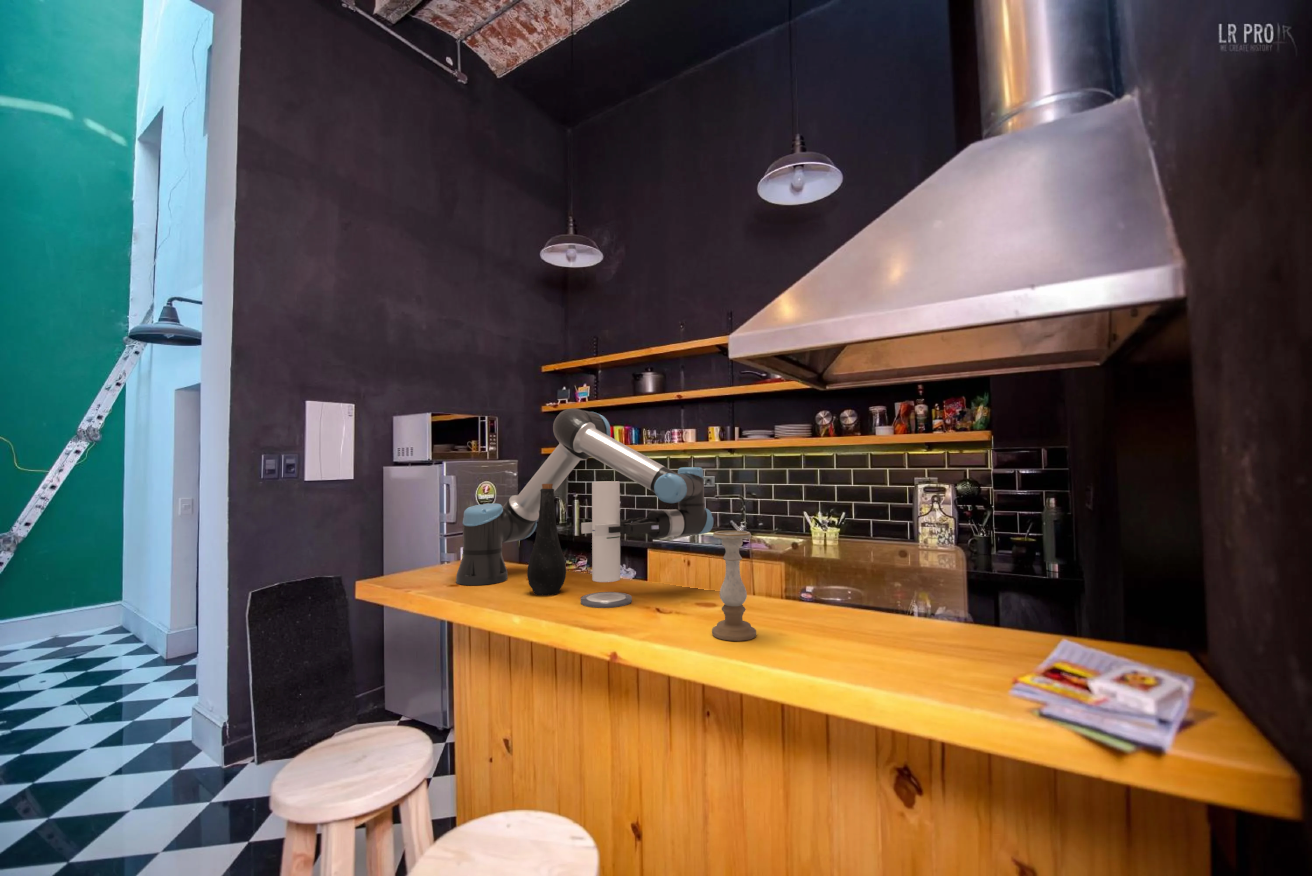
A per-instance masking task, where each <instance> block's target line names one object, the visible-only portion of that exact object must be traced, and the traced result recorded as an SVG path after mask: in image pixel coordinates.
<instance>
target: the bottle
mask: <svg viewBox="0 0 1312 876" xmlns="http://www.w3.org/2000/svg"><path fill="white" fill-rule="evenodd" d="M552 486H553V484H542V489H541V490H540V492H541V498H540V510H539V518H538V519H537V527H536V535H535V540H534V543H533V548H532V551H531V553H530V556H529V560H528V564H527V571H526V577H527V581H528V585H529V587H530V588H531V590H532V591H533V595H535V596H542V597H543V596H553V595H558V594H560V592H561V589H562V588H563V585H564V584H565V581H566V577H567V566H566V565H567V564H566V560H565V559H566V558H565V556H564V553H563V550H562V548H561V542H560V539H559V534H558V533H559V532H558V529H557V528H558V526H557V518H556V510H555V507H556V506H555V492H554V489H552Z"/></svg>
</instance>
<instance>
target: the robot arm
mask: <svg viewBox="0 0 1312 876" xmlns="http://www.w3.org/2000/svg"><path fill="white" fill-rule="evenodd" d="M552 425H553V426H552V431H553V435H554V437H555V439H556V440H557V442H558V443H559V444H558V445H557V446H556V447H555V449H554V450H553V451H552V452H551V453H550V455H549V456H548V457H547V459H545V461H544V462H543V464H542V465H541V466H540V467H539V469H538V470H537V471H536V472H535V473H534V475H533V476H532V477H531V479H530V480H529V481H528V482H527V483H526V485H525V486H524V487H523V489H522V490H521V491H520V492H519V494H515V495H514V494H513V495H511V496H510V497H509V498H508V500H507V501H506V502H505V504H504V505H502V504H500V503H484V504H476V505H472V506H469V507H467V508H465V509H464V511H463V518H462V557H461V561H460V564H459V566H458V570H457V571H456V572H457V573H456V576H455V582H456V584H458V585H462V586H463V585H464V586H483V585H492V584H499V583H502V582H505V581H507V580H508V569H507V566H506V563H505V560H504V557H503V550H502V549H503V543H505V544H506V543H511V542H512V543H513V542H519V541H522V540H525V539H527V538H529V537H531V535H533V534H534V532H535V531H536V530H537V527H538V520H539V512H540V498H541V492H540V490H541V489H542V484H553V486H552V489H554V493H555V491H557V490H558V488H559V487H560V486H561V484H562V483H563V482H564V480H565V479H567V476H569V475H570V474H571V472H572V471H573V470H574V469H575V467H576V466H577V465H578V464H579V463H580V461H587V460H588V459H589V458H590V457H591V458H593V459H595V460H596V461H599V462H600V463H602V464H603V465H606V466H607V467H609V468H611V469H612V470H615V471H616V472H618V473H620V474H621V475H623V476H624V477H627V478H628V479H630V480H632V481H634V482H636V483H637V484H639V485H641V486H643V487H644V488H646V489H647V490H650V491H651V492H652V493H654V494H655V495H656V497H657V498H658V499H659V500H660V501H661V502H663V503H668V504H675V503H678V504H677V506H678V509H676V508H675V509H664V510H663V509H661V510H650V511H649V512H648V513H647V514H646V517H637V518H628V519H620V526H619V523H616V524H602V525H595V536H605V535H618V534H620V535H627V536H630V535H638V534H647V535H648V536H649V537H650V538H651V539H655V540H656V539H664V538H670V539H671V540H674V539H675V537H687V536H698V535H703V534H707V533H710V532H711V531H712V529H713V526H714V516H713V515H712V514H713V513H712V512H711V510H710V509H709V508H706V507H705V478H704V477H705V476H704V470H703V468H702V467H699V466H698V467H697V466H696V467H694V466H690V467H689V466H688V467H687V466H686V467H685V466H684V467H679V468H678V470H677V472H676V471H673V470H672V469H670V468H668V467H667V466H664V465H662V464H661V463H659V462H657V461H655V460H653V458H652V459H651V458H650V457H648V456H647V455H644V454H643V453H640V452H639V451H637V450H635V449H633V448H632V447H629V446H628V445H625V444H624V443H623V442H621V441H618V440H617V439H615V438H613V437H611V435H612V434H611V433H612V432H611V425H610V422H609V420H608V419H607V418H606V416H604V415H601V414H600V413H597V412H594V411H588V410H584V409H578V408H567V409H564V410H562V411H561V412H559V414H558V415H557V416H556V418H555V419H554V421H553V424H552ZM580 530H581V535H583V534H592V521H590V522H589V521H588V522H581V526H580Z"/></svg>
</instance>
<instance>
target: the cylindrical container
mask: <svg viewBox="0 0 1312 876" xmlns="http://www.w3.org/2000/svg"><path fill="white" fill-rule="evenodd" d="M620 495H621V487H620V481H619V480H618V481H616V480H614V481H613V480H611V481H607V480H606V481H605V480H604V481H592V482H591V518H592V519H591V522H592V533H591V535H592V537H591V538H592V539H591V543H592V544H591V546H592V547H591V549H592V550H591V554H592V555H591V556H592V557H591V558H592V560H591V561H592V563H591V564H592V565H591V567H592V569H591V570H592V571H591V572H592V575H591V576H592V577H591V579H592V581H593V582H597V583H613V582H617V581H621V533H620V534H618V535H605V536H595V525H602V524H616V523H619V526H620V520H621V514H620V513H621V505H620V504H621V500H620V499H621V496H620Z"/></svg>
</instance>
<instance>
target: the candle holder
mask: <svg viewBox="0 0 1312 876" xmlns="http://www.w3.org/2000/svg"><path fill="white" fill-rule="evenodd" d="M712 536H713V538H714V539H720V540H721V546H723V547H724V549H725V550H724V551H725V553H724V555H723V558H722V560H724V561H725V575H724V579H723V582H722V584H721V586H720V589H719V597H720V599H721V602H722V604H723V605H722V606H721V611H722V612H723V615H724V619H723V620H720V621H718V622H717V623H716V625H715V626H713V627H712V629H711V634H712V636H713V637H714V638H716V639H719V640H724V641H731V642H734V641H735V642H742V641H743V642H744V641H750V640H752V639H753V640H754V638H756V636H757V629H756V628H755V627H753V626H752V625H751V623H749V622H748V621H746V620H743V615H744V613H745V612H746V610H747V608H746V607H745V606H744V605H743V604H744V603H745V602H746V600H747V597H748V596H747V595H748V594H747V593H748V592H747V590H746V586H745V584H744V583H743V579H742V576H741V571H740V568H741V567H740V562H741V560H743V557H742V556H741V554H740V548H741V547H742V546H743V544H744V543H743V540H747V539H750V538H751V537H752V534H751V532H750V531H746V530H717V531H714V532H713V534H712Z"/></svg>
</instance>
